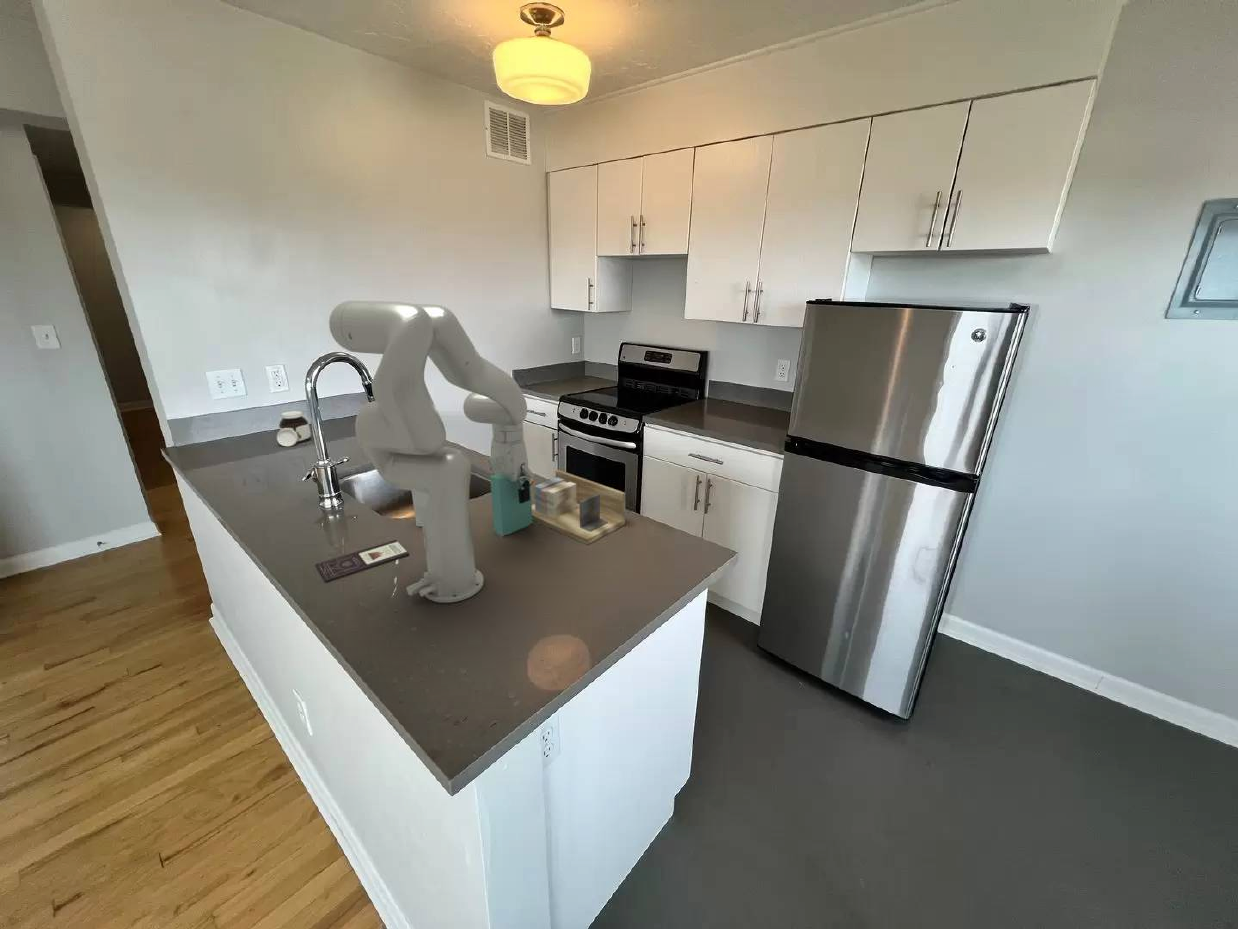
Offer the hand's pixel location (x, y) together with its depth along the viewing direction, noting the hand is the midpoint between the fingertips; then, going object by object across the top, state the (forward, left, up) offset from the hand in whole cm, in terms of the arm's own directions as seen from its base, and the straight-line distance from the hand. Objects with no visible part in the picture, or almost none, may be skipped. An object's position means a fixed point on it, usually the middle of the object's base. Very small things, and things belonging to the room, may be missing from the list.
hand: (512, 496), depth 132 cm
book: (0, 0, -9) cm, 9 cm away
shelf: (+14, -8, -9) cm, 18 cm away
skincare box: (-12, +20, -9) cm, 25 cm away
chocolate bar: (-34, +13, -10) cm, 38 cm away
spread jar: (-11, +123, -9) cm, 124 cm away
